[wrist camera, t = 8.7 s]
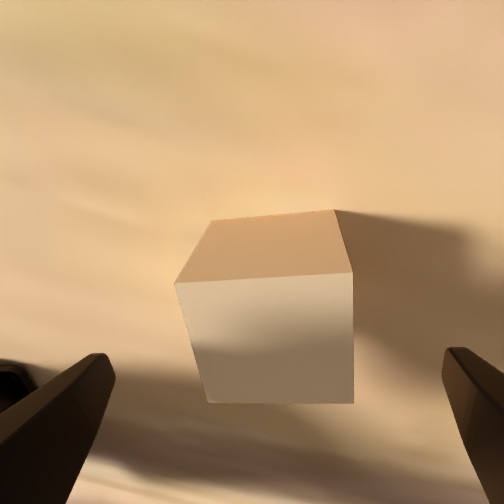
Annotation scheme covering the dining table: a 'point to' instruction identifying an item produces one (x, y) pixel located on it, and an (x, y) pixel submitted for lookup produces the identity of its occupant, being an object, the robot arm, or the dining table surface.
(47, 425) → the robot arm
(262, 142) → the dining table surface
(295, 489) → the dining table surface
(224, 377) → the brick cream
